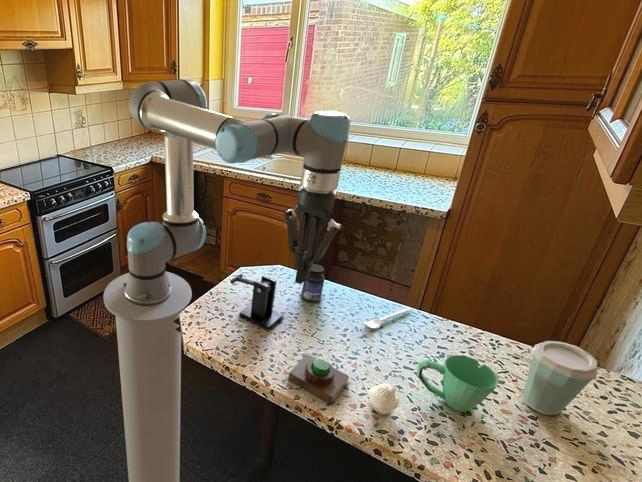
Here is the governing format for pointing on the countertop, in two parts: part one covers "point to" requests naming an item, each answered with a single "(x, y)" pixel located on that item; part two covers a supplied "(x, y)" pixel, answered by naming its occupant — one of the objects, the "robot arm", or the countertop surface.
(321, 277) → the pill bottle
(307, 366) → the switch block
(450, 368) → the mug
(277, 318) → the switch bracket
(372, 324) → the white spoon
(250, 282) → the lever
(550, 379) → the disposable coffee cup
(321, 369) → the button
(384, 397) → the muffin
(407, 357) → the countertop surface
